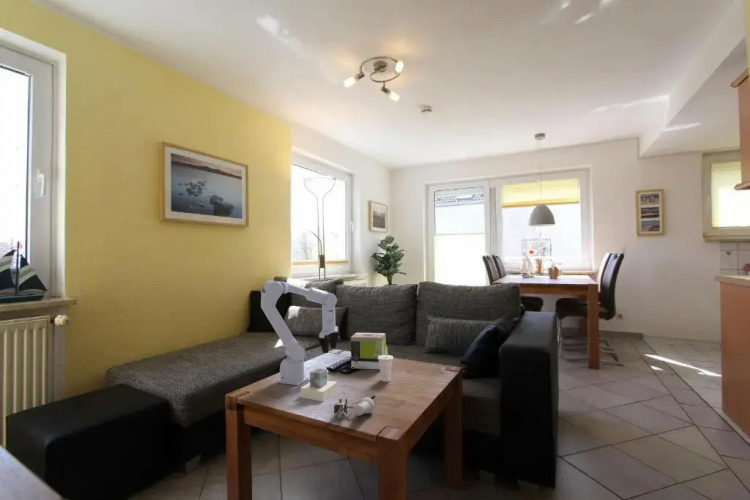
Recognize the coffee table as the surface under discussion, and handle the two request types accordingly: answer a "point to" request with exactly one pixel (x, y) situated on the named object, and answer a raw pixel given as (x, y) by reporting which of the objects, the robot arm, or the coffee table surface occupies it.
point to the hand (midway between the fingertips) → (329, 350)
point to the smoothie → (385, 366)
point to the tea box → (367, 350)
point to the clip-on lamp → (356, 406)
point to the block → (318, 378)
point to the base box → (319, 391)
